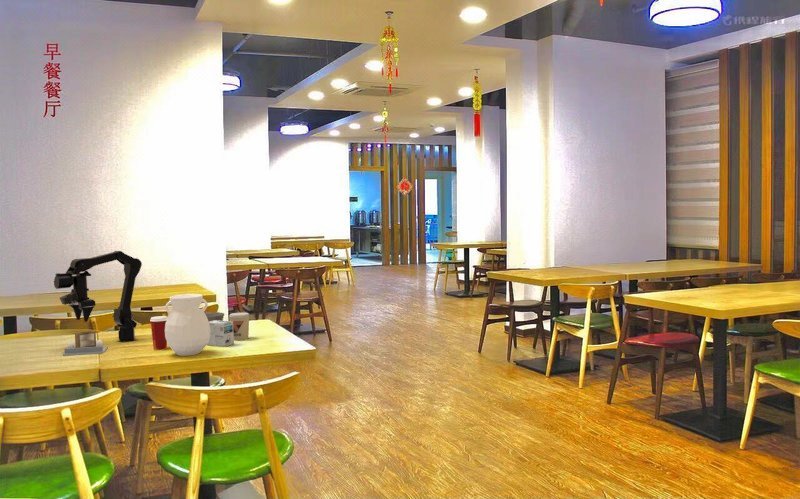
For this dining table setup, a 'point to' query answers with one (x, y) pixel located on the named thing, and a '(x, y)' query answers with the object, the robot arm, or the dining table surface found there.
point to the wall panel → (84, 349)
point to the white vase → (187, 324)
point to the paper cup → (158, 332)
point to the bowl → (214, 316)
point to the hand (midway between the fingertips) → (82, 320)
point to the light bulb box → (221, 333)
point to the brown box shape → (85, 339)
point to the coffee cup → (240, 325)
